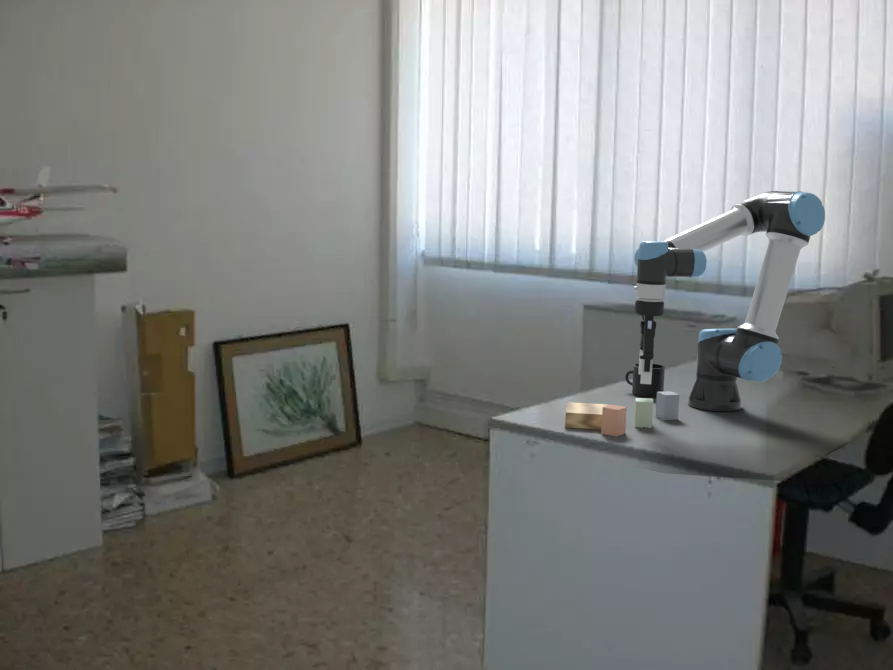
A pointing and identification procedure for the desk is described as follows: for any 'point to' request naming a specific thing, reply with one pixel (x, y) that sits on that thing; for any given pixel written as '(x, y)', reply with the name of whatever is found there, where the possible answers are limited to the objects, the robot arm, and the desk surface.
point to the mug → (647, 389)
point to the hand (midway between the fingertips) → (644, 379)
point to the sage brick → (643, 412)
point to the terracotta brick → (613, 420)
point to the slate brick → (667, 405)
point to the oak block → (584, 415)
